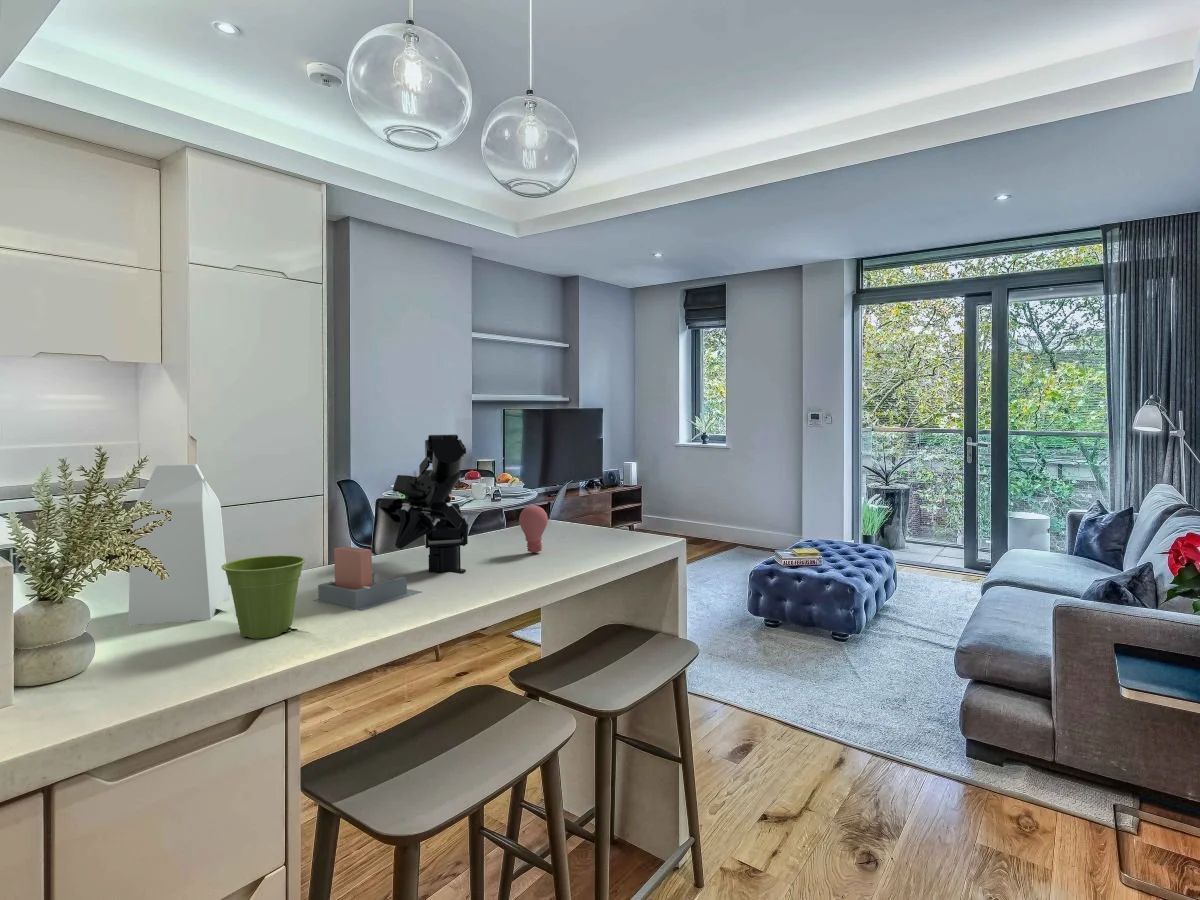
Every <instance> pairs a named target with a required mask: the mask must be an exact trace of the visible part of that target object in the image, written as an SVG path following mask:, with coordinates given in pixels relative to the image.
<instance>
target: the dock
mask: <svg viewBox="0 0 1200 900" xmlns="http://www.w3.org/2000/svg"><path fill="white" fill-rule="evenodd" d="M407 587H408V582H407V577H403V576H402V577H397V578H394V579H390V580H387V581H383V582H379V583H375V572H373V571H372V586H368V587H367V586H363V588H361V589H357V590H354V589H348V588H343V587H338V586H335V579H333V580H332V579H330V581H328V582H324V583H321V584H320V583H319V584H318V585H317V593H318V594H317V596H318V597H317V599H313V602H318V603H324V604H328V605H332V606H337V607H342V608H347V609H351V610H355V611H361V612H363V611H366V610H370V609H372V608H376V607H379V606H381V605H386V604H389V603H391V602H395V601H398V600H401V599H404V598H408V597H411V596H415V595H417V594H421V593H423V591H420V590H417V589H415V590H414V589H411V588H407Z"/></svg>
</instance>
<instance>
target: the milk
mask: <svg viewBox="0 0 1200 900" xmlns="http://www.w3.org/2000/svg"><path fill="white" fill-rule="evenodd" d="M145 485H146V486H145V487H144V488H143V490H142V492H141V494H140V496H139V497H138V499H137V501H136V503H135V504H134V506H136V505H137V504H138V503H140V502H143V501H149V500H151V499H152V501H150V502H149V503H152V504H151V506H150V507H151V508H152V509H153V510H161V509H168V510H172V519H171V521H169V522H167V521H168V520H170V518H168V519H167V520H166V521H165V524H164V525H162V526H160V527H156V528H155V529H153V531H152V534H151V535H148V536H145V537H142V538H140V539H138V540H136V541H135V542H133V544H135V545H137V546H141V547H143V548H146V549H149V551H150V553H151V555H153V556H155V557H157V558H158V559H160V560H161V562H162V564H163V566H164V568H165V569H166V571H167V573H168V575H169V579H168V580H161V579H160V578H161V577H160V578H159V577H158V576H157V575H156V574H154V573H152V572H151V571H149V570H148V569H145V568H143V567H133V568H130V567H129V580H128V581H129V583H128V584H129V588H128V591H129V592H128V599H129V600H128V626H129V625H133V626H140V625H139V624H146V625H154V624H153V623H159V624H166V623H165V622H172V623H181V622H180V621H184V622H191V621H190V620H197V621H203V620H202V619H210V620H212V619H213V618H214V617H215V616H216V615H217V614H218V613H219V612H220V611H221V609H219V608H218V607H220V605H221V604H222V603H224V602H228V601H230V590H229V588H230V587H229V583H228V579H227V575H226V571H225V570H223V569H222V565H224V564H226V563H227V558H226V549H225V547H226V546H225V537H224V527H223V517H222V516H223V514H222V506H221V502H220V500H219V498H218V496H217V495H216V493H215V491H214V490H213V489H212V487H211V486H210V485H209V483H208V482H207V480H206V479H205V477H204V474H203V473H202V471H201V469H200V468H199V465H198V463H190V464H189V463H187V464H185V463H184V464H157V465H155V467H154V470H153V471H152V473H151V475H150V478H149V480H148V482H147V484H145ZM159 512H161V511H159ZM166 512H167V511H166ZM169 513H170V512H169ZM165 515H166V514H165V513H160V514H155V515H149V516H147V517H144V518H142V519H139V520H137V521H135V522H134V524H133V529H134V530H135V529H138V528H142V527H143V526H145V525H146V524H147V523H150V522H153V521H158V520H165V519H166V516H165ZM217 612H218V613H217ZM216 613H217V614H216ZM215 614H216V615H215ZM214 615H215V616H214ZM213 616H214V617H213ZM212 617H213V618H212ZM211 618H212V619H211ZM137 624H138V625H137Z"/></svg>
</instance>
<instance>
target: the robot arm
mask: <svg viewBox="0 0 1200 900" xmlns="http://www.w3.org/2000/svg"><path fill="white" fill-rule="evenodd" d="M466 454H467V447H466V445H465V444H464V443H463V442H462V439H459V435H458V434H429V435H428V436H427V439H425V440H424V455H425V457H424V459H423V460H422V462H420V464H419V465H418V466H419V469H418V470H419V473H418V476H414V475H405V474H404V475H401V474H397V475H396V478H395V481H394V483H393V484H394V485H393V487H392V492H394V493H399V494H401V495H403V496H405V497H404V498H403V499H404V501H405V500H406V502H407V503H405V502H404V501H403V500H402V499H401V498H396V497H385V498H383V499H382V500H381V501H380V503H379V505H378V508H380V510H381V511H382V512H383V513H384V514H385V515H386V516H387V517H388V518H389V519H390V521H391V522H393V523H395V524H397V525H399V528H398V532H397V536H396V540H395V544H394V546H395V547H396V549H400V550H401V549H403V548H404V547H407V546H409V545H410V544H412V543H413V542H414V541H416V540H418V539H419V538H421V537H423V536H424V547H425V549H429V551H428V552H429V554H428V573H433V574H444V573H454V574H462V573H465V572H467V570H466V569H465V568H461V547H462V546H463V547H465V546H466V545H468V543H469V542H468V539H469V538H468V537H469V536H468V535H469V523H467V520H466V517H463V513H462V512H461V508H460V504H458V503H452V501H451V500H452V497H450V495H451V494H452V493H453V492H452V491H453V489H454V488H455V487H456V485H457V483H458V482H459V480H460V478H461V477H462V471H461V467H462V465H461V464H462V461H463V457H464V455H466ZM430 464H432V465H430ZM430 466H431V467H432V469H428V468H429V467H430Z"/></svg>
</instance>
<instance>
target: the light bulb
mask: <svg viewBox="0 0 1200 900" xmlns="http://www.w3.org/2000/svg"><path fill="white" fill-rule="evenodd" d="M548 517H549V516H548V513H547V512H546V511H545V509H544V508H542V507H541V506H538V505H528V506H526V507H525V508H524V509H522V510H521V512H520V514H519V519H518V520H519V521H518V522H519V525H520V527H521V531H522V532H523V534H524V536H525V541H526V542H527V543H526V547H527V552H529V553H532V554H537V553H539V552H542V551H543V550H542V549H543V543H542V539H543V538H542V536H543V534H544V532H545V530H546V528H547V525H548V520H549V519H548Z"/></svg>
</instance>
